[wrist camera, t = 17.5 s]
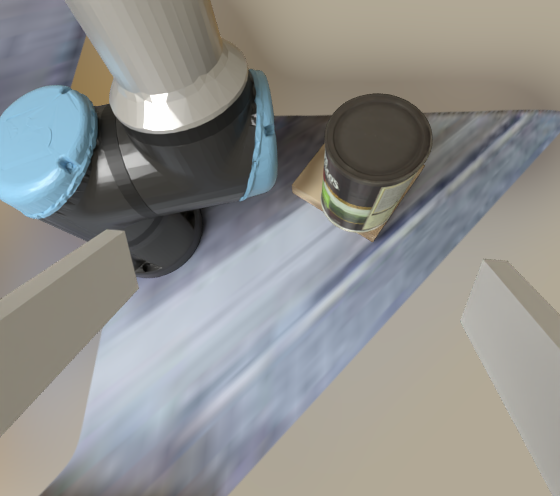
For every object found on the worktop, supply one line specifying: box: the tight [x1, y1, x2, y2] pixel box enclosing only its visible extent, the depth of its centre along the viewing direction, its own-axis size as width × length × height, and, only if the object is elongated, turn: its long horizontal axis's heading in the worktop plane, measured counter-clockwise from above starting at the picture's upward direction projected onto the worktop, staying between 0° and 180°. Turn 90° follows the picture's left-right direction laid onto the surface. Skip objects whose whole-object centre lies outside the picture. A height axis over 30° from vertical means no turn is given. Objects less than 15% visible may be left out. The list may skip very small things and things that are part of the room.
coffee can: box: [321, 94, 433, 233], centre depth 37 cm, size 10×10×14 cm
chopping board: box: [292, 143, 425, 242], centre depth 46 cm, size 14×13×2 cm
